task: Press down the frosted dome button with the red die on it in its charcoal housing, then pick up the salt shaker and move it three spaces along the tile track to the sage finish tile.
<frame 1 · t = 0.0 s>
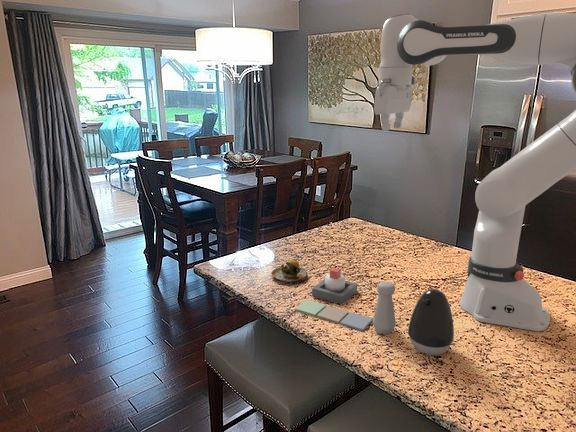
hand: (391, 129, 125), 48 cm above the countertop, tool pointing down, fingers open, 8 cm apart
salt shaker: (383, 331, 111), on the countertop
button housing: (334, 293, 131), on the countertop
dome: (335, 279, 130), point 5 cm above the countertop, slide at 0.0 cm
track: (332, 315, 118), on the countertop
dark grey egg device: (428, 349, 103), on the countertop
bowl of food: (289, 278, 143), on the countertop
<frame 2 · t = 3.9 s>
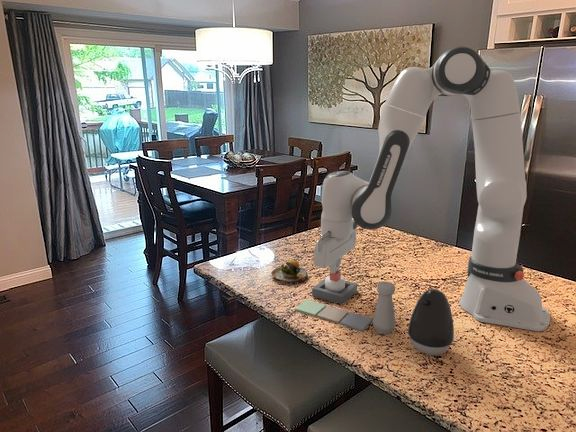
hand: (334, 271, 129), 7 cm above the countertop, tool pointing down, fingers closed, pressing on dome
dome: (335, 281, 130), point 4 cm above the countertop, slide at 0.7 cm, touching gripper
everything else where it was.
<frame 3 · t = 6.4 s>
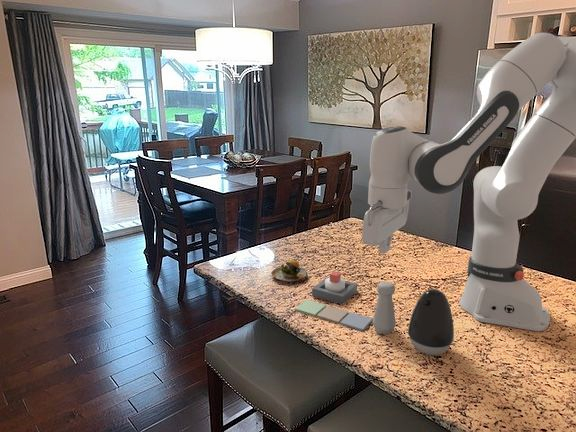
hand: (384, 251, 107), 21 cm above the countertop, tool pointing down, fingers closed
dome: (335, 282, 130), point 4 cm above the countertop, slide at 1.3 cm
everything else where it was.
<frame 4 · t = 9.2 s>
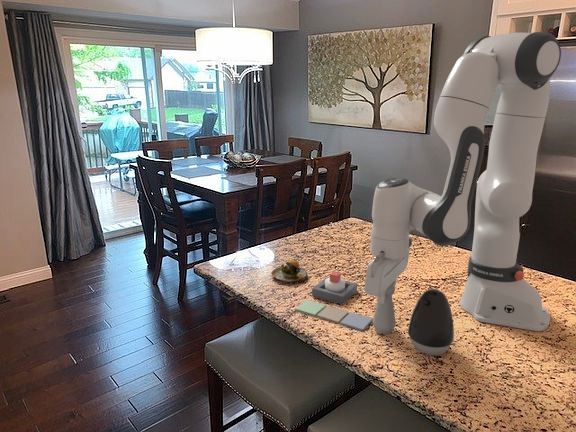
hand: (385, 298, 108), 9 cm above the countertop, tool pointing down, fingers closed on salt shaker, 4 cm apart
salt shaker: (383, 331, 111), on the countertop, touching gripper
everything else where it was.
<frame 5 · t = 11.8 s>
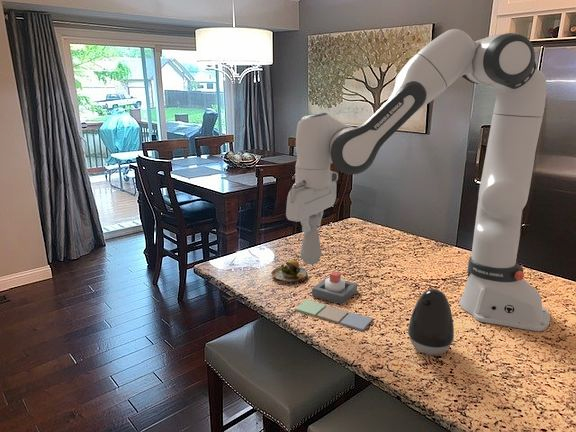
hand: (311, 229, 115), 24 cm above the countertop, tool pointing down, fingers closed on salt shaker, 4 cm apart
salt shaker: (310, 262, 118), point 14 cm above the countertop, touching gripper
everything else where it was.
when the fingers open (11 cm above the countertop, at t = 14.5 s): salt shaker drops 1 cm, resting on track.
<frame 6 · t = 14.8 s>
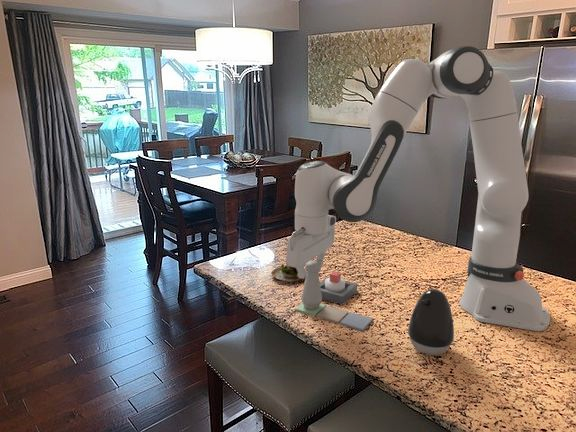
hand: (311, 271, 119), 11 cm above the countertop, tool pointing down, fingers open, 8 cm apart
salt shaker: (311, 306, 122), point 1 cm above the countertop, touching track
everything else where it was.
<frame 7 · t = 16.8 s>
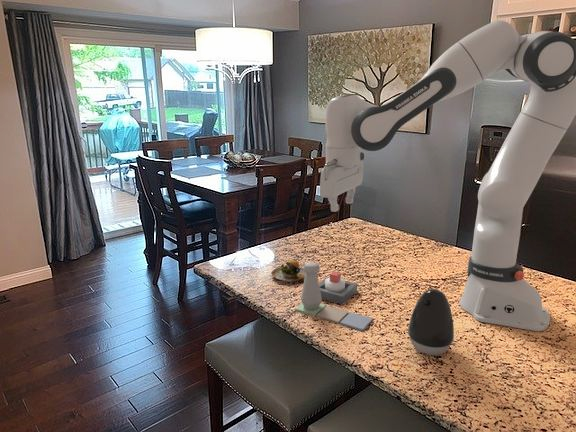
hand: (342, 207, 120), 28 cm above the countertop, tool pointing down, fingers open, 8 cm apart
nothing on the countertop moved.
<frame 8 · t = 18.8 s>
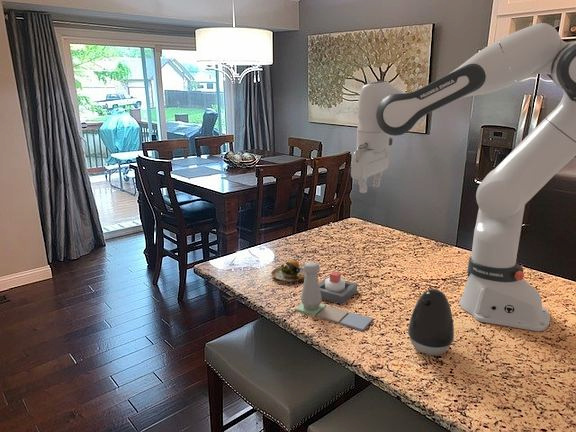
hand: (369, 189, 126), 31 cm above the countertop, tool pointing down, fingers open, 8 cm apart
nothing on the countertop moved.
at the end: dome slide at 1.3 cm; salt shaker inside the target area on the track (0.2 cm from its centre), point 0.4 cm above the track's base; salt shaker tilted 0° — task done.
